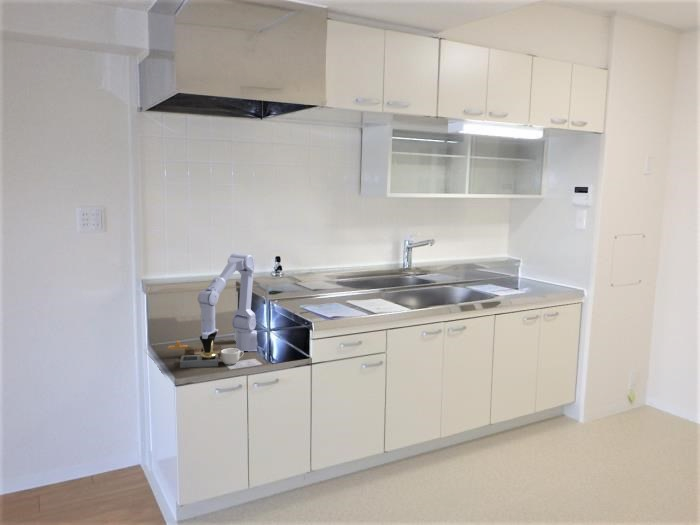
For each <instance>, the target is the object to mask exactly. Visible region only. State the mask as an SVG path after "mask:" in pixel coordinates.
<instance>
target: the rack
mask: <svg viewBox="0 0 700 525" xmlns="http://www.w3.org/2000/svg"><path fill="white" fill-rule="evenodd" d="M186 367H187V368H206V367H207V368H208V367H219V359H218V354H217V356H215V357H213V359H212V360H204V358H203V357H200V355H186V356H185V355H181V357H180V361H179V368H180V369H181V368H183V369H184V368H186Z"/></svg>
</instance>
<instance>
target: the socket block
mask: <svg viewBox="0 0 700 525" xmlns="http://www.w3.org/2000/svg"><path fill="white" fill-rule="evenodd" d="M221 347H222V346H221V345H213V351H215V352H217V354H218V360H221V358H220V357H221V350H222V349H221ZM201 352H203V346H188V349H184V356H186V355H200V353H201Z"/></svg>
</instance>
